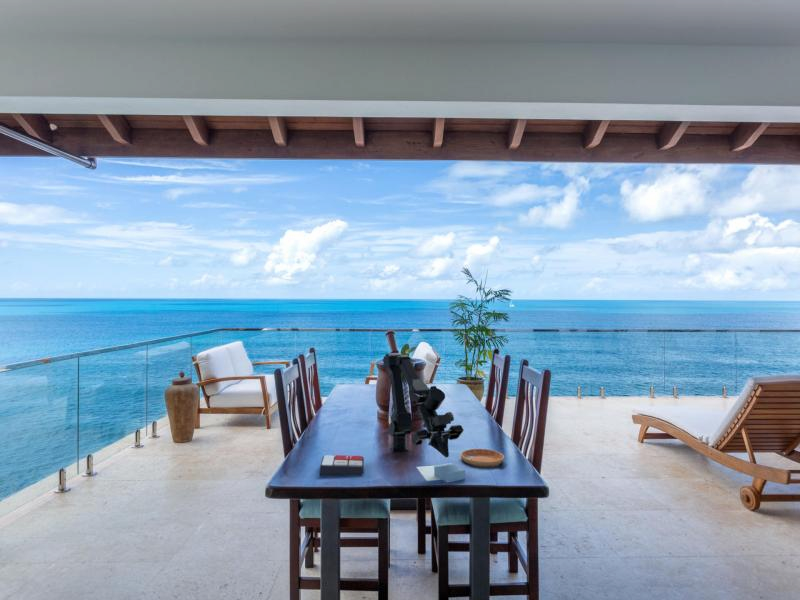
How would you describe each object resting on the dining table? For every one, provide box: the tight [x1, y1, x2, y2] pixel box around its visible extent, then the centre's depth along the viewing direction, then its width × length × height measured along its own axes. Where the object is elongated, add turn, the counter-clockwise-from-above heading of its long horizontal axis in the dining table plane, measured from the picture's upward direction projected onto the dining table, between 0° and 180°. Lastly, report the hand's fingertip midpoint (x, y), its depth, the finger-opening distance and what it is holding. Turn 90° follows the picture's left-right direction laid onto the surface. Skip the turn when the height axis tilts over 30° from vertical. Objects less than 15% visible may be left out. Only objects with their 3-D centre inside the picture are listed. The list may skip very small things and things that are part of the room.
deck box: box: [433, 462, 466, 483], centre depth 154 cm, size 3×7×8 cm
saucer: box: [460, 448, 505, 468], centre depth 171 cm, size 16×16×3 cm
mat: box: [416, 464, 443, 482], centre depth 158 cm, size 14×13×1 cm
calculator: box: [319, 454, 365, 477], centre depth 163 cm, size 11×4×15 cm
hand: (447, 456), depth 155 cm, fingers closed
